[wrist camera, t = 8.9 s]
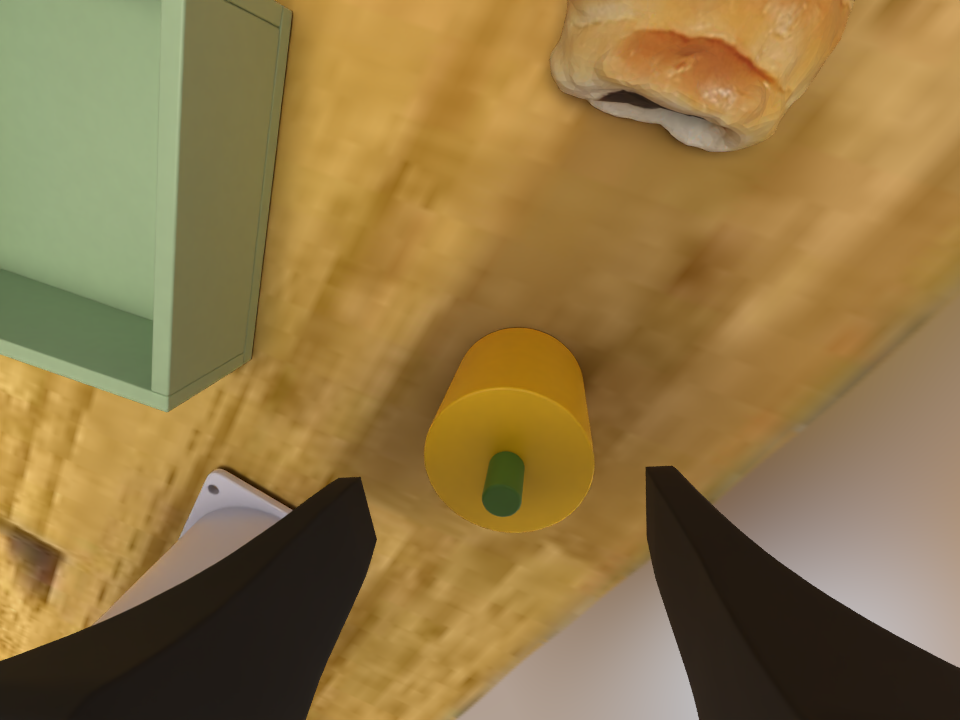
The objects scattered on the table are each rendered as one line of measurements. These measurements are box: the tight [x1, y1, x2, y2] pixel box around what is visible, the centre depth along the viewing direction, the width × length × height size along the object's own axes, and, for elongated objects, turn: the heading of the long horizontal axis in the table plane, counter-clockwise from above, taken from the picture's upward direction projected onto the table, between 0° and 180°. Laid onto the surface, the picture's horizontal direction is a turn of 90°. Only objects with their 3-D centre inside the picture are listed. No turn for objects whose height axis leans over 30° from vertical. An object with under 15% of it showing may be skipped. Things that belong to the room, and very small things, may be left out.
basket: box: [0, 0, 292, 412], centre depth 15 cm, size 12×12×5 cm
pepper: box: [424, 328, 595, 533], centre depth 15 cm, size 5×5×7 cm
